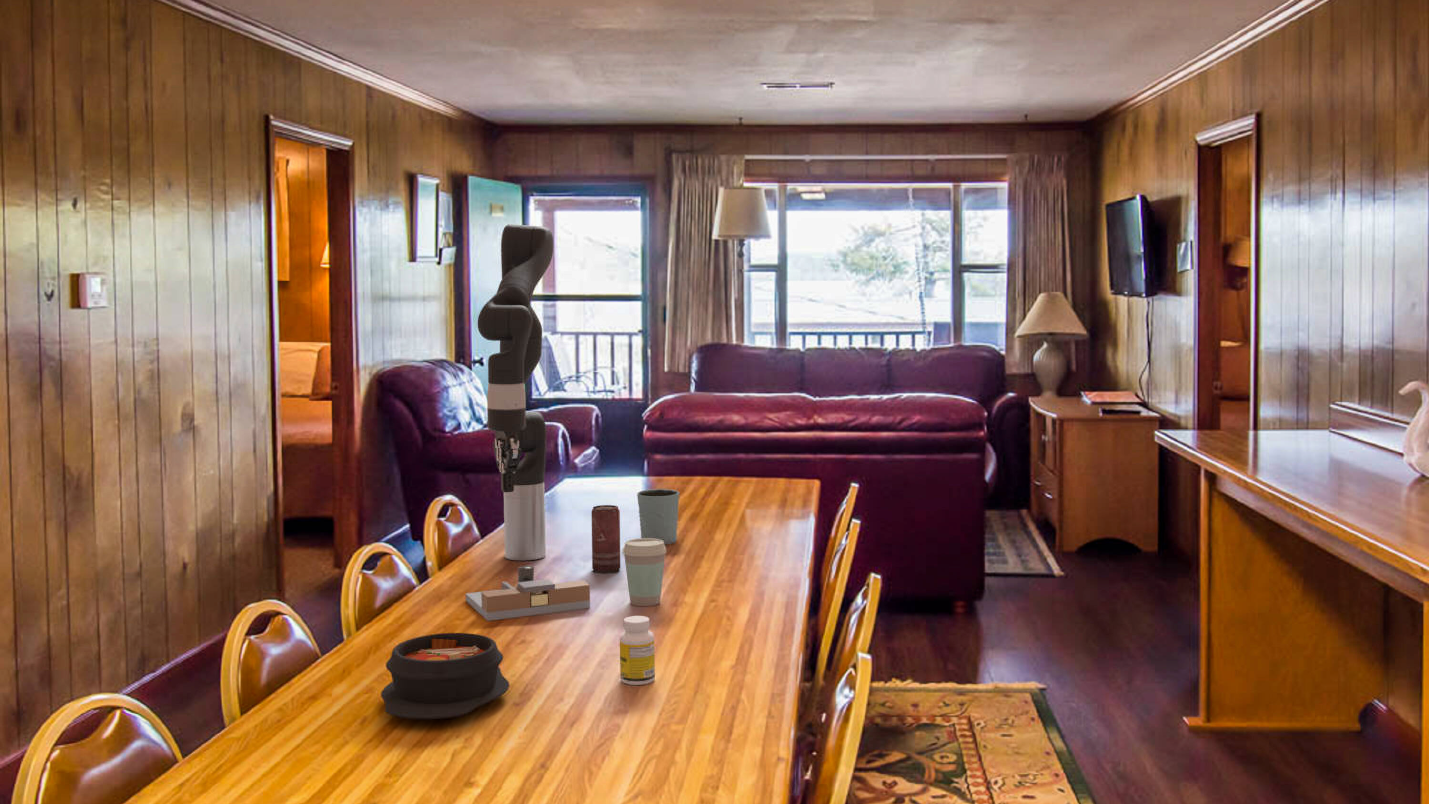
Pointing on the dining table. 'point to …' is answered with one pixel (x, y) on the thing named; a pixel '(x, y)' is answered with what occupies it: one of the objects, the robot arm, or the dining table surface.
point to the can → (605, 539)
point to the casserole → (443, 676)
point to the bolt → (528, 575)
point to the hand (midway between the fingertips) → (507, 491)
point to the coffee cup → (644, 570)
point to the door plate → (520, 613)
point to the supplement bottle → (637, 652)
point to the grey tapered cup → (658, 514)
